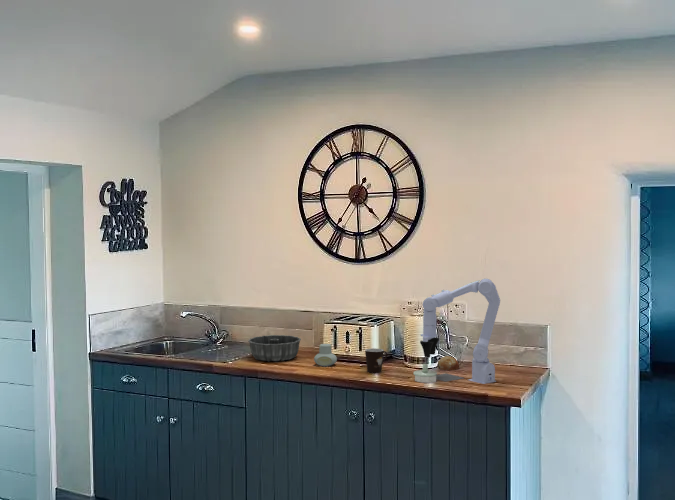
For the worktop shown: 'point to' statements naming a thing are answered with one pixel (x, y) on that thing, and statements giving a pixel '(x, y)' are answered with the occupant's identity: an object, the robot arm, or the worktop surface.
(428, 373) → the lid
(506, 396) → the worktop surface
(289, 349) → the bundt pan
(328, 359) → the air freshener
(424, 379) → the ramekin
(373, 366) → the coffee mug
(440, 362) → the bread roll
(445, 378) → the mat
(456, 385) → the worktop surface
